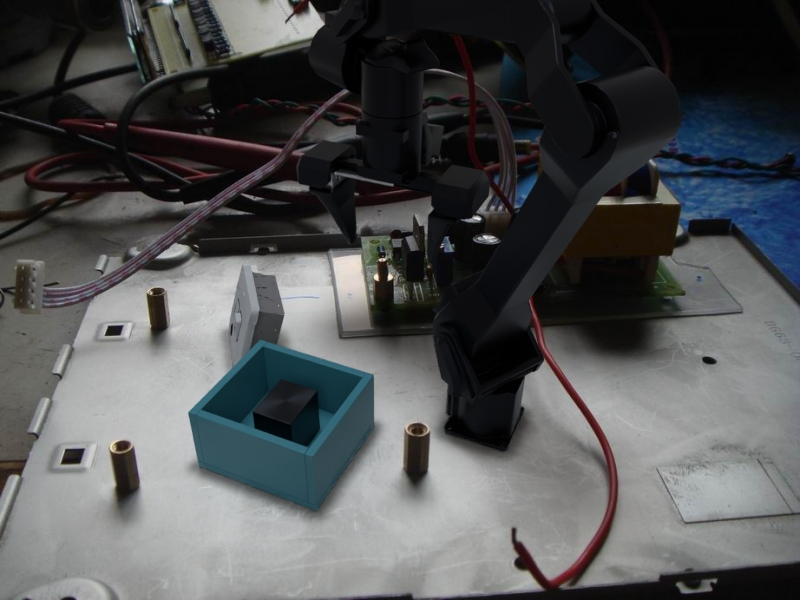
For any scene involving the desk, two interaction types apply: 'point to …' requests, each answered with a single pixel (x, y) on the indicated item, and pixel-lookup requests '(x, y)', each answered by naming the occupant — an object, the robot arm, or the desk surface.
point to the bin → (273, 456)
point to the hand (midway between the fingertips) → (391, 251)
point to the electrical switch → (254, 312)
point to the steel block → (289, 413)
